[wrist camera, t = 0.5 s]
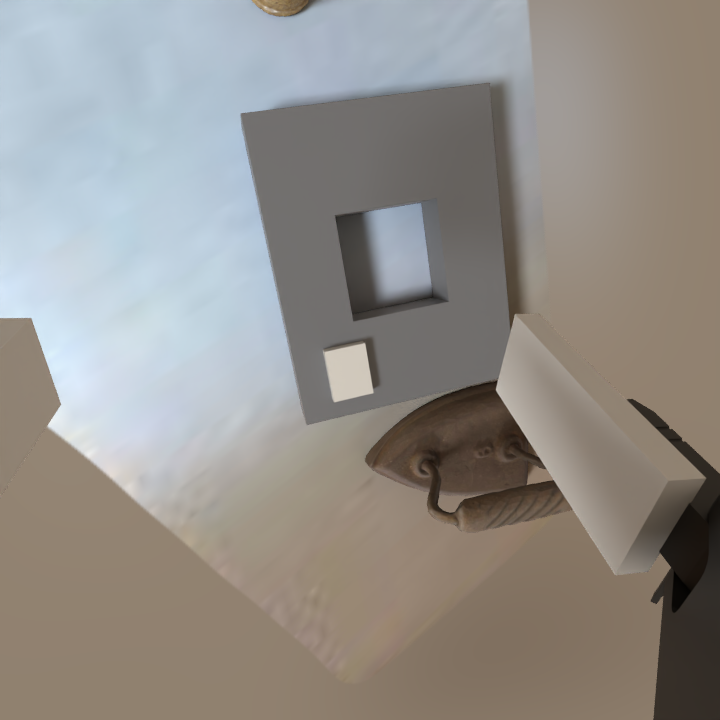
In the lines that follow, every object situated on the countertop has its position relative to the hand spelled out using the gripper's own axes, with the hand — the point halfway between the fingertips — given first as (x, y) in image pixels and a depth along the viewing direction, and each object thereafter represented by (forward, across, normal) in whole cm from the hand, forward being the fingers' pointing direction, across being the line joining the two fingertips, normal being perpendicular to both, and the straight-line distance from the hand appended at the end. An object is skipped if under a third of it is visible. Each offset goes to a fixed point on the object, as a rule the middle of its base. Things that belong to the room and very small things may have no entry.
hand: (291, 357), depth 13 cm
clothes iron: (+17, +13, -19) cm, 29 cm away
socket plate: (+21, +7, -5) cm, 23 cm away
